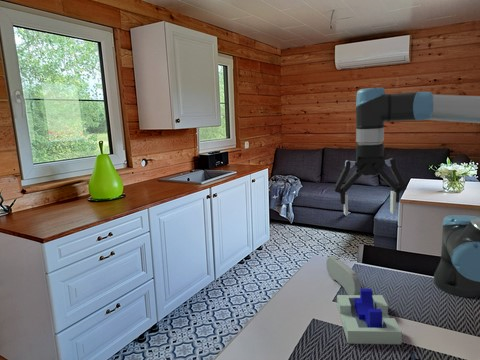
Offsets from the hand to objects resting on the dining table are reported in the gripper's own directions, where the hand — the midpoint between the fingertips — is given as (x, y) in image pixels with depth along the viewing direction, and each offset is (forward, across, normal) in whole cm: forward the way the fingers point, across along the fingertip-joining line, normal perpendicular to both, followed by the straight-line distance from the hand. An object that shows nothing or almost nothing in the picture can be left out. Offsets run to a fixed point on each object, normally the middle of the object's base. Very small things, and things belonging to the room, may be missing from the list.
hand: (369, 213), depth 107 cm
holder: (+27, +4, +15) cm, 31 cm away
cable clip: (+26, +4, +15) cm, 30 cm away
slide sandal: (+27, +7, -6) cm, 29 cm away
